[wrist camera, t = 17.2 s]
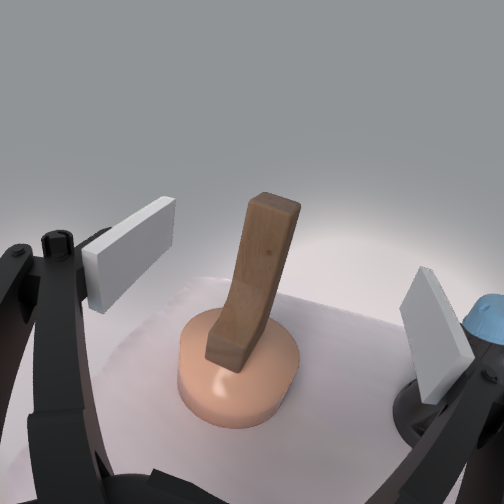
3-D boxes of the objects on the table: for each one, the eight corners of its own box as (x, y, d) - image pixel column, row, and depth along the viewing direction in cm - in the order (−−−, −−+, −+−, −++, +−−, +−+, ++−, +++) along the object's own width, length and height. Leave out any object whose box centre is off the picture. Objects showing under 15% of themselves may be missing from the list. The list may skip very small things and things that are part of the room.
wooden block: (238, 375, 33) (279, 228, 24) (202, 359, 34) (227, 211, 25) (264, 330, 40) (302, 202, 32) (234, 318, 41) (263, 190, 33)
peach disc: (288, 361, 46) (303, 325, 43) (273, 441, 33) (292, 409, 30) (197, 335, 48) (203, 295, 44) (160, 405, 35) (159, 368, 31)
